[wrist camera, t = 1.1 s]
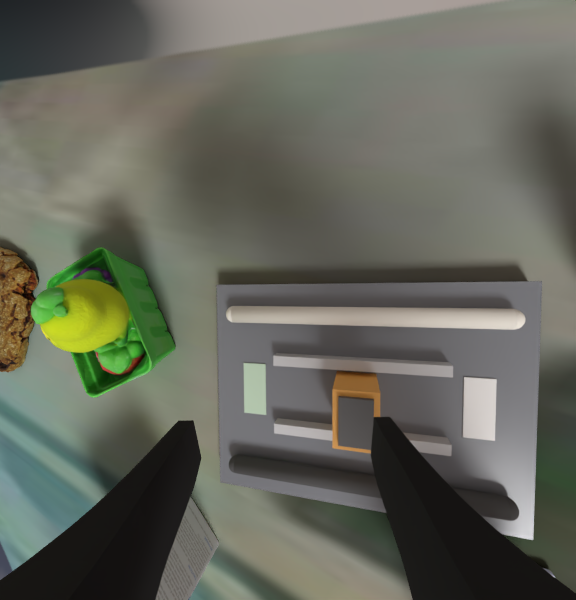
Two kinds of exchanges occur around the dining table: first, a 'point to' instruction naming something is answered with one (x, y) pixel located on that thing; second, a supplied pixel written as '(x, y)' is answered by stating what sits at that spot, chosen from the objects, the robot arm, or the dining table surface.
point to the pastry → (15, 309)
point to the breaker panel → (386, 387)
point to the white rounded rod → (381, 316)
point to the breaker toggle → (354, 410)
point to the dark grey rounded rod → (358, 483)
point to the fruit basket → (104, 320)
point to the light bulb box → (187, 556)
